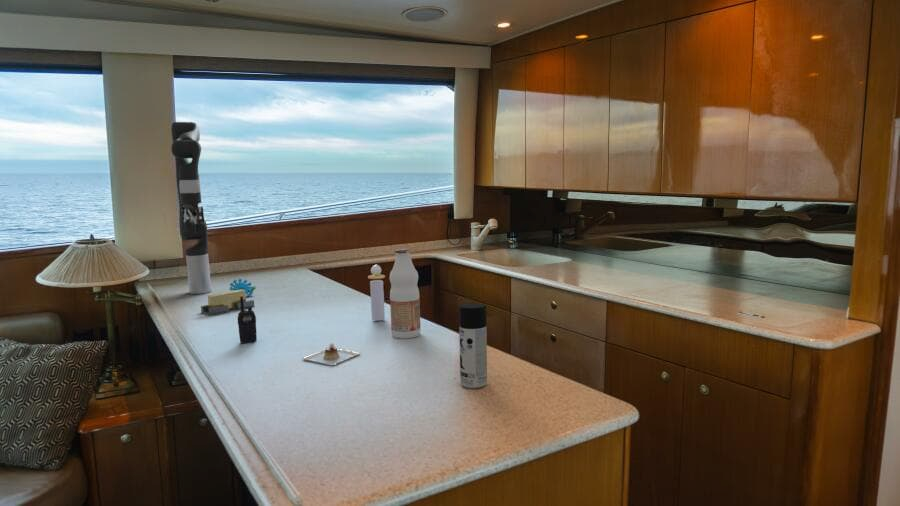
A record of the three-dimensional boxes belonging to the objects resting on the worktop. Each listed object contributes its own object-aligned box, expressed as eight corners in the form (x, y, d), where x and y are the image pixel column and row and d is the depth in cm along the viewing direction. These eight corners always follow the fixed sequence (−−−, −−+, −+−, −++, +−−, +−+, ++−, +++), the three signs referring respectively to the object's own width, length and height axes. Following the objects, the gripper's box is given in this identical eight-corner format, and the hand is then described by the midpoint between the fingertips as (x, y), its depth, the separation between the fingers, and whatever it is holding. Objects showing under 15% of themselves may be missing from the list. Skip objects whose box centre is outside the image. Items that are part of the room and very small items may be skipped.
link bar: (209, 310, 231) (207, 295, 230) (242, 304, 242) (241, 289, 241) (213, 312, 229) (211, 296, 228) (246, 305, 240) (245, 290, 239)
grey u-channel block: (201, 312, 231) (200, 306, 231) (243, 303, 245) (243, 297, 244) (211, 315, 226) (211, 309, 226) (254, 306, 239) (254, 300, 239)
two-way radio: (240, 344, 187) (236, 297, 185) (238, 341, 191) (234, 295, 189) (258, 341, 190) (254, 295, 188) (255, 338, 194) (252, 293, 192)
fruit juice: (397, 340, 187) (394, 252, 183) (387, 333, 195) (383, 248, 191) (425, 336, 191) (422, 249, 187) (414, 329, 199) (411, 246, 195)
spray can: (459, 380, 151) (457, 302, 148) (485, 378, 152) (484, 301, 149) (461, 390, 144) (459, 309, 142) (489, 388, 145) (488, 307, 142)
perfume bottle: (381, 323, 208) (378, 266, 205) (367, 322, 211) (364, 266, 208) (389, 319, 213) (387, 264, 210) (375, 318, 216) (373, 263, 213)
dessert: (332, 369, 164) (331, 352, 163) (301, 362, 170) (300, 345, 170) (361, 356, 174) (360, 340, 173) (330, 350, 180) (329, 335, 180)
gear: (231, 296, 252) (228, 277, 257) (228, 304, 255) (225, 285, 261) (258, 296, 258) (254, 277, 263) (254, 304, 262) (251, 285, 267)
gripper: (172, 191, 237) (176, 232, 240) (189, 192, 228) (193, 234, 230) (191, 191, 243) (194, 230, 245) (208, 191, 234) (211, 232, 236)
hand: (193, 232), depth 238 cm, fingers open, 8 cm apart
